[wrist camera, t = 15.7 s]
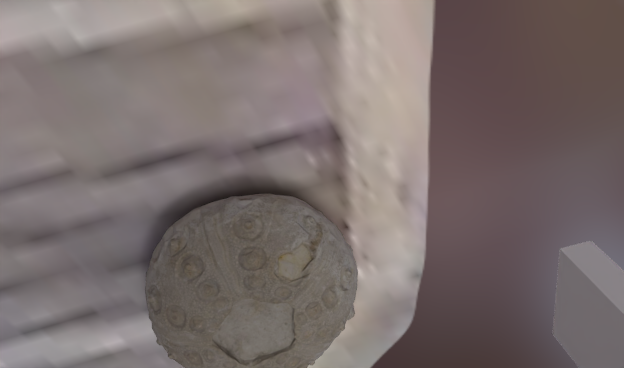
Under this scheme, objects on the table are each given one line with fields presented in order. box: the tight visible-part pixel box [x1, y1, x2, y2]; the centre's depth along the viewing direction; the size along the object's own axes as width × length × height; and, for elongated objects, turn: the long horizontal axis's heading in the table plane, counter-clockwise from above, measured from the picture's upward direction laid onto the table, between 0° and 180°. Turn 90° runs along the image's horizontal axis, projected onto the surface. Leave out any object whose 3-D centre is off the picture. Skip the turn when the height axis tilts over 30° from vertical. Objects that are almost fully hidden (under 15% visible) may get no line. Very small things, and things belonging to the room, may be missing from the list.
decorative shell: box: [145, 193, 358, 368], centre depth 46 cm, size 18×18×10 cm
